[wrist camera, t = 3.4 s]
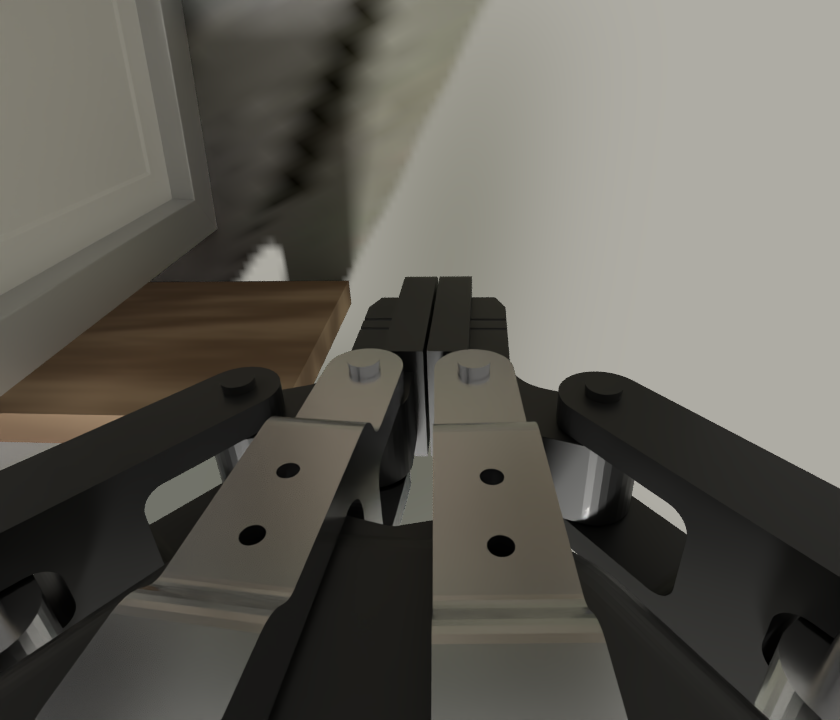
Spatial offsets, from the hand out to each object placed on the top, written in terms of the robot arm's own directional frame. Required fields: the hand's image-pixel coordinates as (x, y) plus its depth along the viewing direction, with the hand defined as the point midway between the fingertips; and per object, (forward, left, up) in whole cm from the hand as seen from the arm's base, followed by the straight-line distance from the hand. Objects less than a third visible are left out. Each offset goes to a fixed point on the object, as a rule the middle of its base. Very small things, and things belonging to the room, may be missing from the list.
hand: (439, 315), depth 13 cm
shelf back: (+8, -21, -20) cm, 30 cm away
